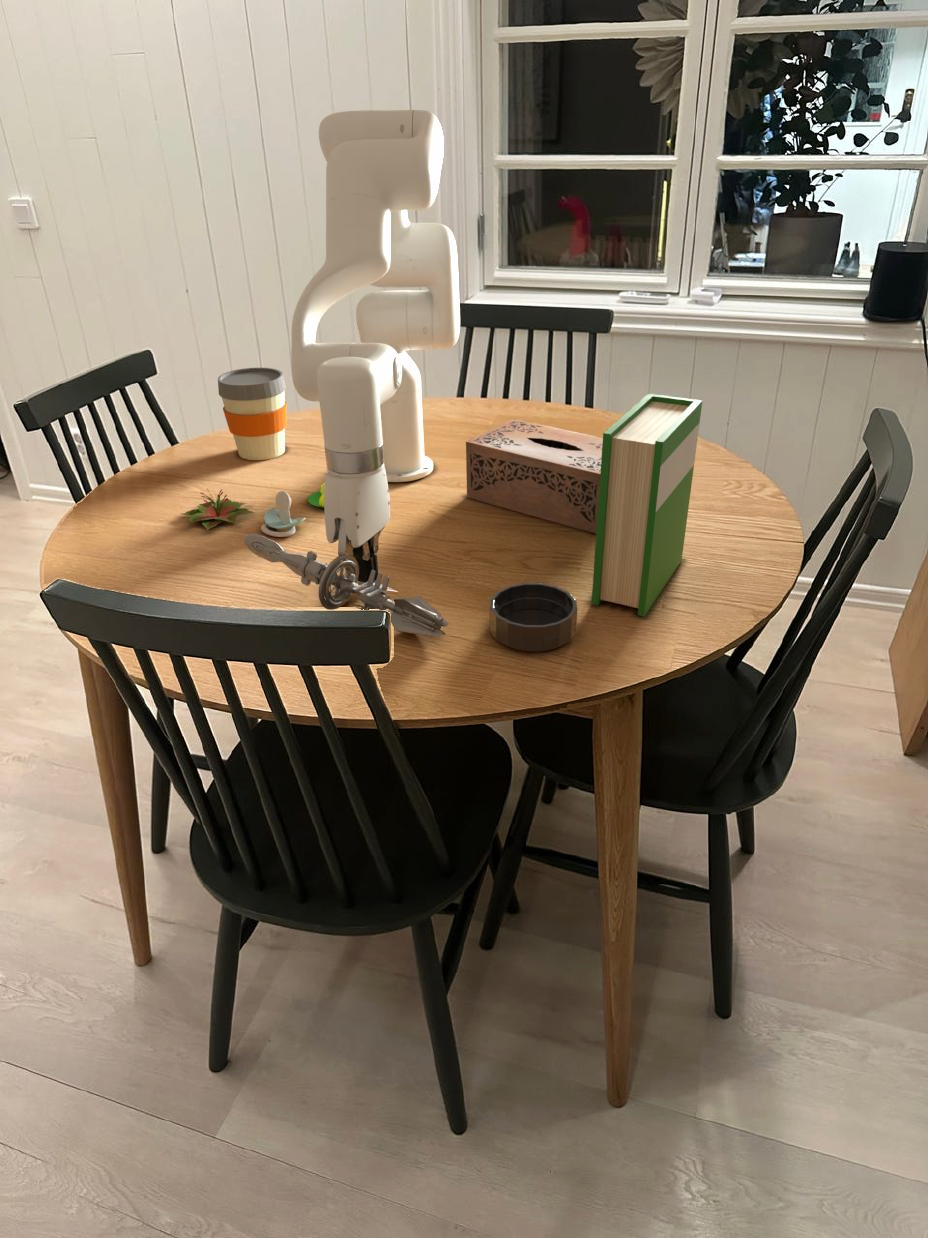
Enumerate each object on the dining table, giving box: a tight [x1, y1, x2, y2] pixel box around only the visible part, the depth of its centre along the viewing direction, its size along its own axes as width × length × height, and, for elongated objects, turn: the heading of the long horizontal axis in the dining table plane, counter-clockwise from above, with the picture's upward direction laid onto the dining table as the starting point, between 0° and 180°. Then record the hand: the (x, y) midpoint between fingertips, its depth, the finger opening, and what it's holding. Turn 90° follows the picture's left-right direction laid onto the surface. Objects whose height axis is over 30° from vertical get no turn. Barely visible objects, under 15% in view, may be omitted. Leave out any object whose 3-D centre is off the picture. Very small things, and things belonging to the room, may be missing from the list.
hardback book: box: [591, 393, 703, 617], centre depth 113 cm, size 18×7×24 cm, turn 152°
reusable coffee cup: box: [217, 367, 288, 461], centre depth 163 cm, size 13×13×15 cm
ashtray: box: [489, 582, 578, 653], centre depth 108 cm, size 11×11×4 cm
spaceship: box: [243, 533, 450, 637], centre depth 113 cm, size 8×35×8 cm
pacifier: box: [260, 490, 306, 538], centre depth 135 cm, size 7×6×6 cm
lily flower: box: [181, 488, 256, 531], centre depth 140 cm, size 12×12×5 cm
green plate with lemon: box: [307, 481, 325, 509], centre depth 145 cm, size 8×8×3 cm
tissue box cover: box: [465, 418, 603, 535], centre depth 142 cm, size 26×14×10 cm, turn 53°
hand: (366, 579), depth 119 cm, fingers closed
